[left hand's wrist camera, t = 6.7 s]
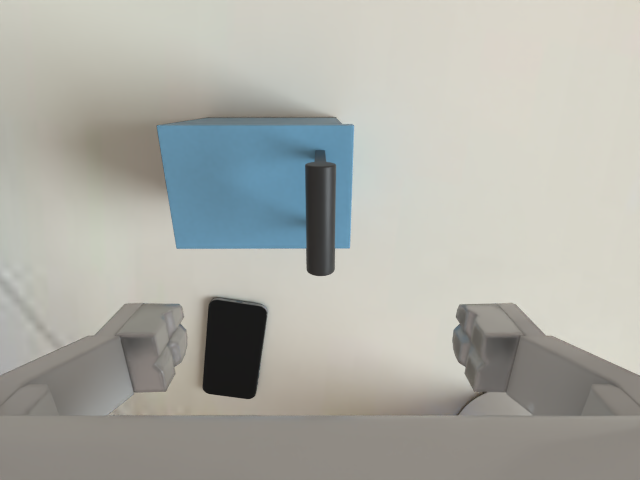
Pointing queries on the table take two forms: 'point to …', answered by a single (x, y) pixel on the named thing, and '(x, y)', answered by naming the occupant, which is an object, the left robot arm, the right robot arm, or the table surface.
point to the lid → (260, 187)
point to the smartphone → (233, 347)
